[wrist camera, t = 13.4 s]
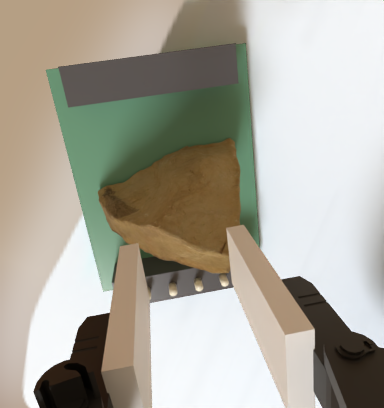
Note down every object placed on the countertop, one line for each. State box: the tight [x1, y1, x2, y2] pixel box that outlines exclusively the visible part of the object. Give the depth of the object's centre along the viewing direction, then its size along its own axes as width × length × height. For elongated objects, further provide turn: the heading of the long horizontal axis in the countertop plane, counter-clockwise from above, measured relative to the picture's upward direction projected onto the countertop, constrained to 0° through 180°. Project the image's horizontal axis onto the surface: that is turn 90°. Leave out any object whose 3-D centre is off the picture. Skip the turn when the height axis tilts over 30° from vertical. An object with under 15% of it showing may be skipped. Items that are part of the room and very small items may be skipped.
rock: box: [98, 138, 241, 273], centre depth 24 cm, size 11×9×10 cm
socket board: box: [46, 43, 259, 303], centre depth 26 cm, size 14×18×5 cm
